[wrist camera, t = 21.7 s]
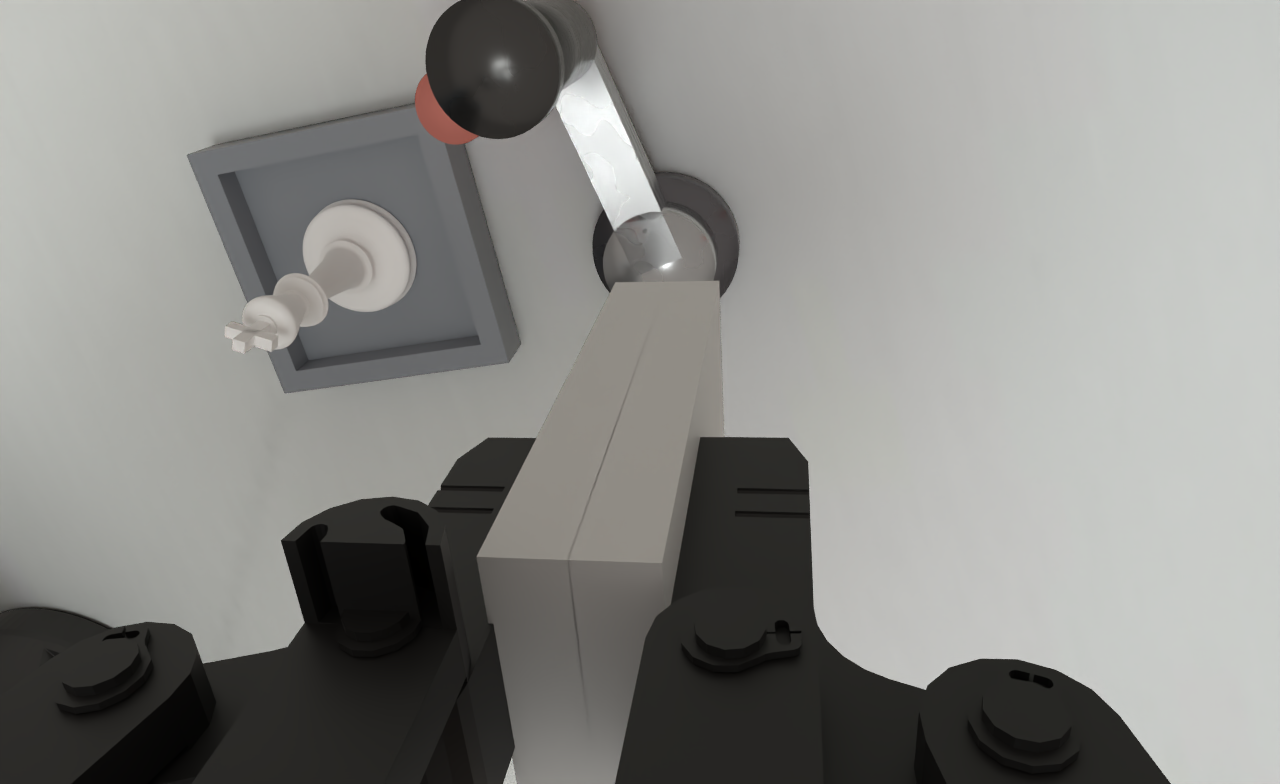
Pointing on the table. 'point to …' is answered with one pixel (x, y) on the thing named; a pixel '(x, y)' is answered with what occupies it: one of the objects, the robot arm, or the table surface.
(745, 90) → the table surface
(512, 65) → the crank arm
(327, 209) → the chess piece
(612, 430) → the robot arm
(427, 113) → the post
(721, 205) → the crank base
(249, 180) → the tray
